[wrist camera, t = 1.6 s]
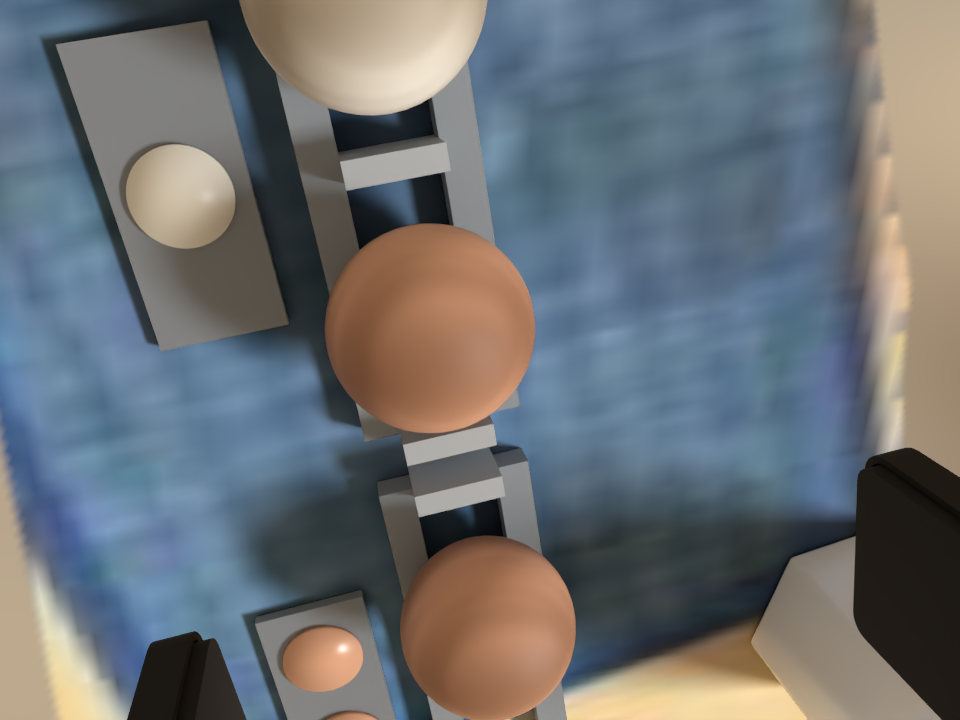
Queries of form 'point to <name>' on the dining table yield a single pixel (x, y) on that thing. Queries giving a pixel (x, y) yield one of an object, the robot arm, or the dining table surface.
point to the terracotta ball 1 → (429, 328)
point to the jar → (829, 645)
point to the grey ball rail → (326, 179)
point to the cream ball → (366, 48)
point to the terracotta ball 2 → (488, 628)
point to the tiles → (210, 288)
